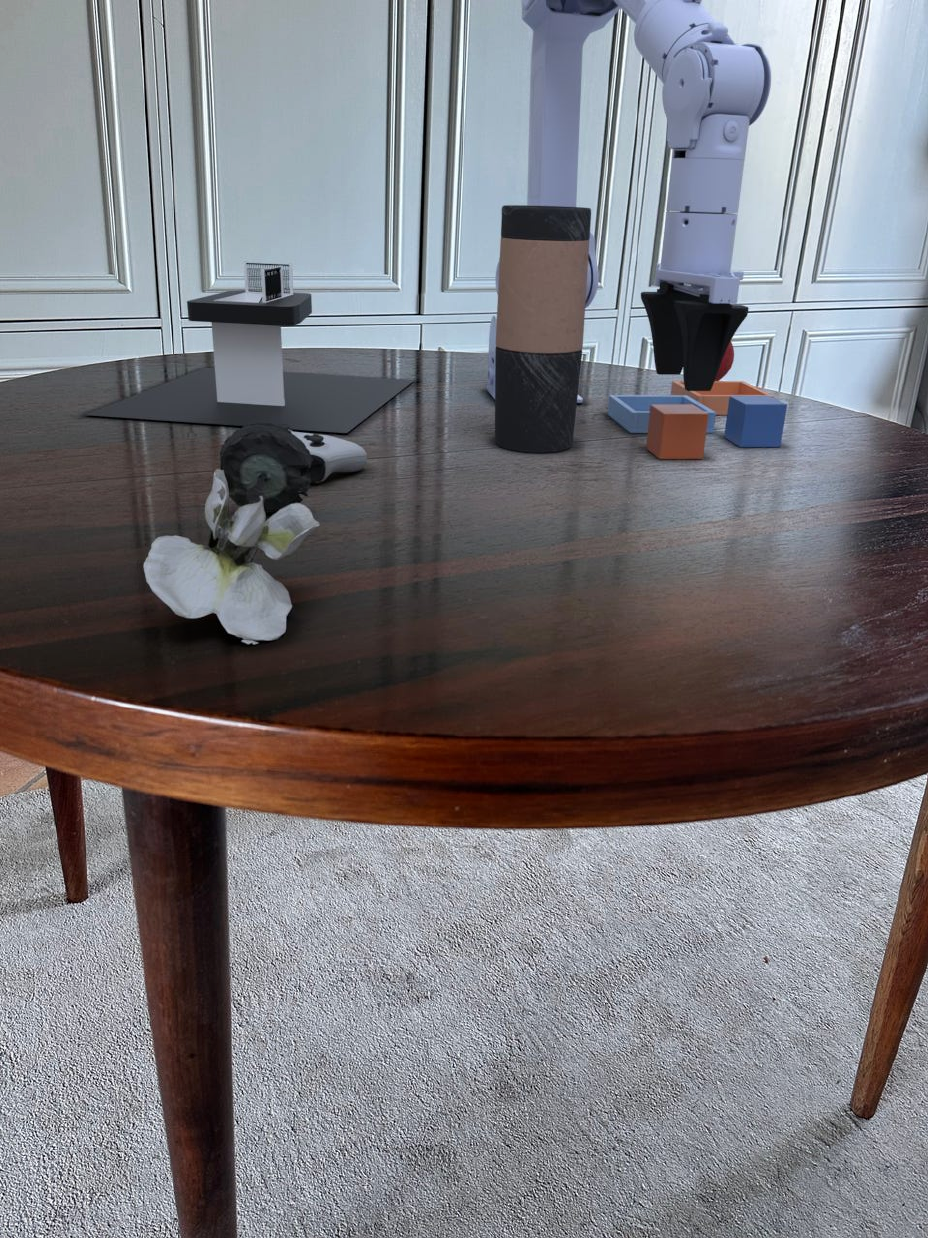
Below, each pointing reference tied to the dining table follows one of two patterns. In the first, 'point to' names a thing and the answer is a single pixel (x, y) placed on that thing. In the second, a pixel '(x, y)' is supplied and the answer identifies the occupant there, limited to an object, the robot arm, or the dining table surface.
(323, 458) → the game controller
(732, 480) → the dining table surface
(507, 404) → the travel mug
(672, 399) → the slate tray
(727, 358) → the onion
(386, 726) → the dining table surface
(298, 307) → the black-topped pedestal
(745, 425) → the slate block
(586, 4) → the robot arm
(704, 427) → the rust block
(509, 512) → the dining table surface
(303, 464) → the artificial flower
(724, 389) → the terracotta tray
